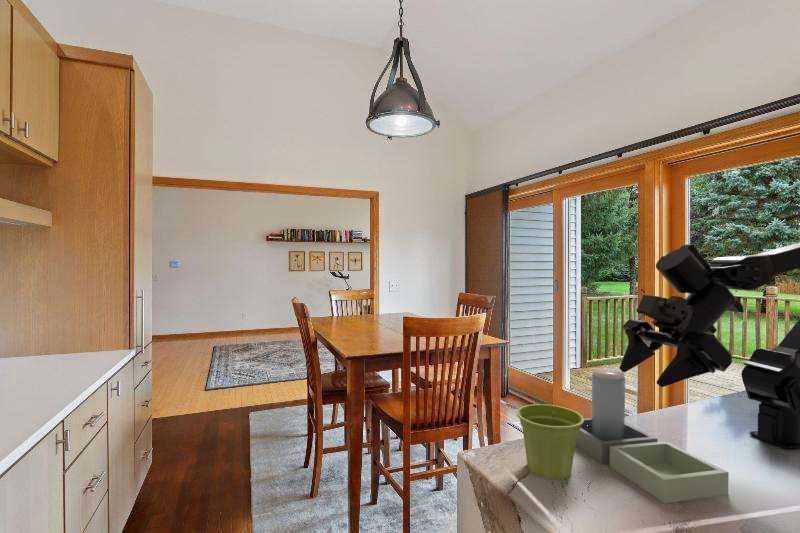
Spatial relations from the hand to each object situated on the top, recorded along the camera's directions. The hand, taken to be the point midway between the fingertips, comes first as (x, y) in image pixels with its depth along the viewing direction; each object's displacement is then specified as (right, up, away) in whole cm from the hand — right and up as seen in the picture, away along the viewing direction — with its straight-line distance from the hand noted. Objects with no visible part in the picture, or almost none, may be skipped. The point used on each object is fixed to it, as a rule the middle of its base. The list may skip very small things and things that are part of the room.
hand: (638, 377), depth 72 cm
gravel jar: (-6, -12, -1) cm, 13 cm away
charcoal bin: (-6, -12, -1) cm, 13 cm away
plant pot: (-18, -12, -9) cm, 24 cm away
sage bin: (-3, -12, -12) cm, 17 cm away
